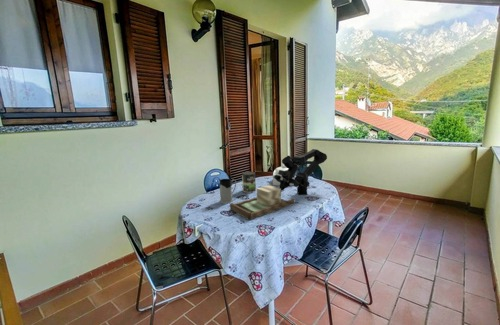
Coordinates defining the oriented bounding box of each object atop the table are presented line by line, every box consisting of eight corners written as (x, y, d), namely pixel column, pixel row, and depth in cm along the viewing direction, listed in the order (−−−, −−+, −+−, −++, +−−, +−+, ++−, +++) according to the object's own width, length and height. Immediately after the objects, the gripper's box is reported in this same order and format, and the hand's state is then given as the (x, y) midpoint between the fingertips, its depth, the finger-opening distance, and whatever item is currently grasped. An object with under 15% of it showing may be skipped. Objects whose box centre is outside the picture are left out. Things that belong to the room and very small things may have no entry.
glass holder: (217, 201, 171) (216, 180, 168) (232, 196, 181) (231, 176, 178) (225, 204, 165) (224, 182, 162) (240, 198, 175) (239, 178, 172)
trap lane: (273, 196, 176) (273, 190, 176) (294, 203, 161) (294, 197, 160) (230, 209, 155) (230, 203, 155) (249, 219, 140) (248, 213, 139)
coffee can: (258, 191, 189) (257, 173, 186) (246, 193, 185) (245, 175, 182) (252, 187, 198) (251, 170, 195) (240, 190, 194) (239, 172, 191)
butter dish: (272, 185, 203) (272, 166, 200) (274, 179, 220) (273, 162, 217) (294, 185, 200) (294, 166, 197) (294, 179, 217) (294, 161, 214)
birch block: (269, 197, 168) (269, 184, 166) (281, 201, 159) (280, 188, 158) (257, 201, 162) (256, 188, 160) (268, 206, 153) (267, 192, 151)
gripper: (275, 163, 172) (263, 181, 168) (295, 167, 157) (283, 187, 153) (283, 172, 178) (272, 190, 174) (303, 177, 163) (292, 196, 159)
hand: (279, 191), depth 165 cm, fingers closed
